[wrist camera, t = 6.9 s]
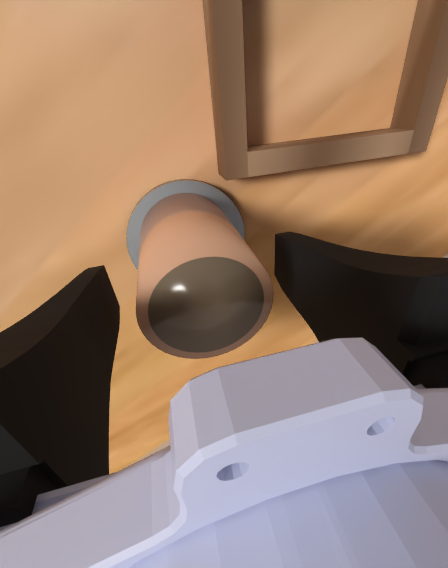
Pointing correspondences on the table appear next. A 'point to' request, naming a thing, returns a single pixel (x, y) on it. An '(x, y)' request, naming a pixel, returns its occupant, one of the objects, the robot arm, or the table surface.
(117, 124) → the table surface
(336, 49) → the table surface
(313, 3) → the table surface
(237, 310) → the clay pot
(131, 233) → the glossy gray dome
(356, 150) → the frame
